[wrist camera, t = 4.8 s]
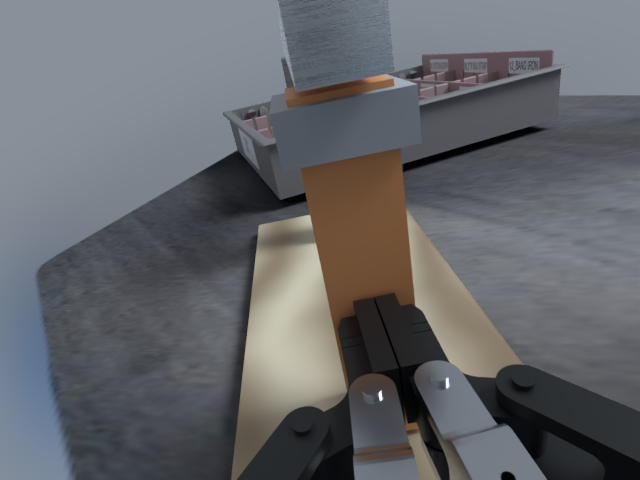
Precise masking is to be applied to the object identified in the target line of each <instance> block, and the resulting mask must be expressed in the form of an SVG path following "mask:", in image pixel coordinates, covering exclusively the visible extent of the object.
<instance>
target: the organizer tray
mask: <svg viewBox="0 0 640 480" xmlns="http://www.w3.org/2000/svg"><path fill="white" fill-rule="evenodd" d="M553 54H554V50H528V51H502V52H475V53H449V54H424V55H422V65H421V66H417V67H412V68H409V69H404V70H400V71H396V72H394V73H390V74H387V75H391V76H394V77H397V78H400V79H403V80H406V81H410V82H413V83H416V84H418V96H419V110H420V124H421V138H422V144H417V145H412V146H407V147H403V148H400V150H401V160H402V164H404V163H408V162H411V161H414V160H418V159H421V158H425V157H428V156H431V155H435V154H438V153H442V152H445V151H448V150H452V149H455V148H459V147H462V146H465V145H469V144H472V143H476V142H479V141H482V140H486V139H489V138H493V137H496V136H499V135H503V134H506V133H510V132H513V131H516V130H520V129H523V128H527V127H530V126H533V125H537V124H540V123H544V122H547V121H550V120H554V119H557V116H558V102H559V88H560V75H561V69H562V68H565V67H569V65H568V64H553ZM270 106H271V101H269V102H265V103H261V104H256V105H252V106H249V107H244V108H239V109H235V110H232V111H227V112H224V113H223V115H224V116H225V117H226V118H227V119H228V120H230V124H231V127H232V131H233V134H234V138H235V142H236V145H237V149H238V151H239V152H240V153H241V154H242V156H243V157H244V158H245V159H246V160H247V162H248V163H249V164H250V165H251V166H252V167H253V169H254V170H255V171H256V172H257V173H258V174H259V176H260V177H261V178H262V179H263V180H264V181H265V183H266V184H267V185H268V186H269V187H270V188H271V190H272V191H273V192H274V193H275V194H276V195H277V197H278V198H279V199H280V200H282V199H285V198H289V197H292V196H295V195H299V194H302V193H305V188H304V184H303V179H302V174H301V169H295V170H290V171H285V172H283V171H282V167H281V163H280V158H279V154H278V150H277V145H276V141H275V137H274V132H273V128H272V124H271V119H270V115H269V113H270ZM403 171H404V168H403Z"/></svg>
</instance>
